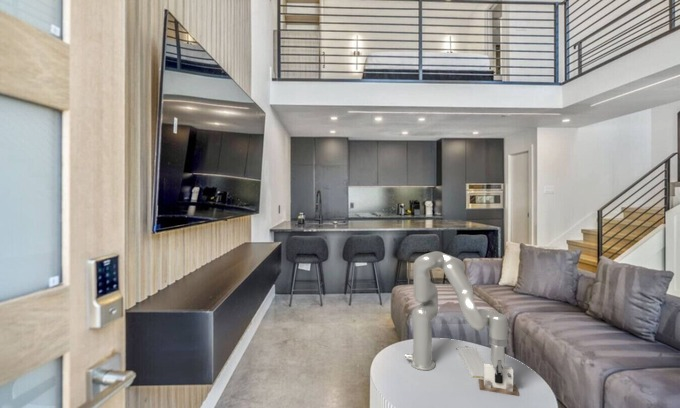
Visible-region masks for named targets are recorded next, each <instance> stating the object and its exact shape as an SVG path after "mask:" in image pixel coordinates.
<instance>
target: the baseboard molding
mask: <svg viewBox="0 0 680 408" xmlns="http://www.w3.org/2000/svg"><path fill="white" fill-rule="evenodd" d="M457 351H458V354H459V356H460V357H461V358H460V359H461V360H462V362H463V365H465V368H466V370H467V372H468V375H469V376H470V378H476V379H477V378H478V379H484V364H486V363H485V361H484V359H483V358H482V355H481V354H480V353H479V351H478V350H477V348H469V346H467V345H466V346H464V348H463V347H460V348H457Z"/></svg>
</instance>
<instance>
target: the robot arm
mask: <svg viewBox="0 0 680 408" xmlns="http://www.w3.org/2000/svg"><path fill="white" fill-rule="evenodd" d="M438 268H439V269H441V270H443V271H442V272H443V273H444V275H445V277H446V278H447V280H448V282H449V284H450V286H451V287H452V289H453V290H454V292H455V294H456V297H457V301H458V304H459V308H460V311H461V314H462V315H463V317H464V319H465V321H466V322H467V324H468V325H469V326H470V327H471V328H472V330H475V331H482V330H484V329H485V328H486V327H488V330H489V331H488V332H489V333H488V336H489V338H488V342H489V343H488V344H489V345H490V363H491V365H492V367H493V368H495V383H501V384H502V383H503V374H502V369H504V366H505V355H506V354H505V348H506V347H508V318H507V316H506V315H505V314H503V313H501V312H492V311H490V310H488V309H483V308H479V309H478V308H477V306H476V303H475V301H474V287H473V286H472V283H471V282H470V281H469V279H468V277H467V275H466V274H465V271H466V264H465V262H463V260H461V259H460V258H457V257H456V256H452V255H450V254H447V253H444V252H443V251H437V250H436V251H431V252H428V253H425V254H422V255H419V256H418V257H417V258H415V260H414V263H413V266H412V269H413V270H412V272H413V273H412V274H413V297H414V299H415V301H416V302H417V303H419V304H418V305H417V306H415V307H414V308H413V310H412V311H411V312H412V313H411V320H412V321H411V322H412V327H413V328H412V331H413V333H412V335H413V336H412V338H413V339H412V340H413V342H412V343H413V344H412V346H413V347H412V349H413V352H412V354H409V353H405V354H404V358H406V360H408V361H410V363H409V364H410V366H411V367H413V368H414V369H415V370H416V369H417V370H420V371H430V370H433V369H434V368H436V367H435V366H436V365H435V364H436V363H435V361H434V360H433V355H432V354H433V331H432V330H433V329H432V325H431V321H432V320H434V319H435V318H436V317H437V315H438V314H439V313H438V312H439V291H438V288H437V286H436V285H435V284H434V282H431V275H430V271H431V270H434V269H438ZM497 366H498V367H497ZM497 369H498V370H497Z"/></svg>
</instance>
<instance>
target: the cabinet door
mask: <svg viewBox="0 0 680 408" xmlns="http://www.w3.org/2000/svg"><path fill="white" fill-rule="evenodd" d="M497 367H498V366H497ZM497 370H498V369H497ZM502 374H503V383H502V384H501V383H495V368H493V367H492V363H491V364H490V363H485V364H484V378H483V380H484V386H485V380H488V381H491V387H496V388H502V389H506V383H507V384H512V385H513V384H514V369H513V367H512V366H505V365H504V369H502Z"/></svg>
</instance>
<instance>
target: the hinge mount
mask: <svg viewBox="0 0 680 408" xmlns="http://www.w3.org/2000/svg"><path fill="white" fill-rule="evenodd" d="M516 385H517V384H514V383H513V385H512V384H507V383H506V389H502V388H496V387H491V381H488V380H485V386H484V379H483V378H478V387H479V390H480V391H485V392H492V393H498V394H502V395H503V394H505V395H510V396H516V397H519V395H520V394H519V391H518V389H517V386H516Z"/></svg>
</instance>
